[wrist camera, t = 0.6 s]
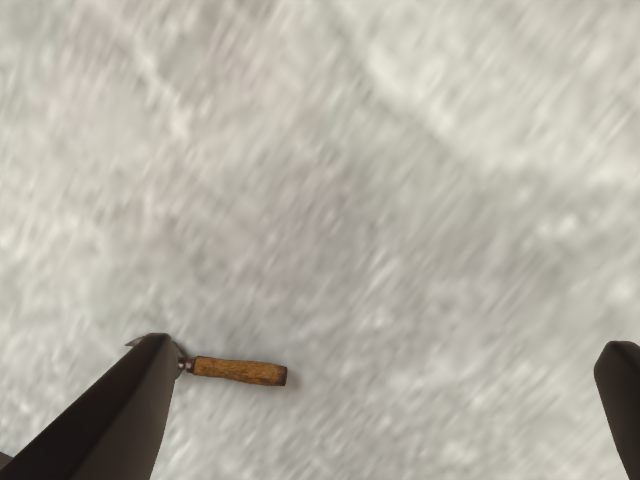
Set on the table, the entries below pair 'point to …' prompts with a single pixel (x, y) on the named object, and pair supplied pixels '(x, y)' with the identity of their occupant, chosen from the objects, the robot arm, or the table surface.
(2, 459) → the warmer
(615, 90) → the table surface
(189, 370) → the can opener
